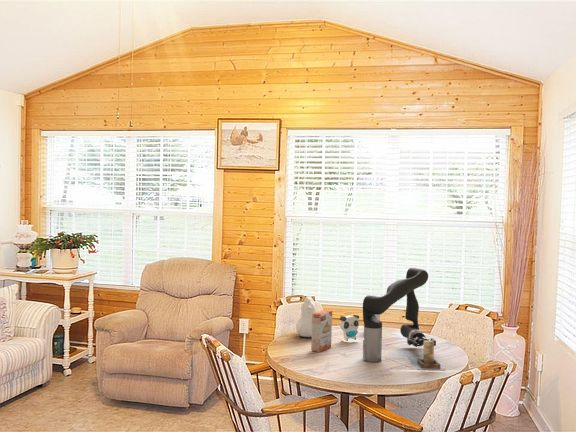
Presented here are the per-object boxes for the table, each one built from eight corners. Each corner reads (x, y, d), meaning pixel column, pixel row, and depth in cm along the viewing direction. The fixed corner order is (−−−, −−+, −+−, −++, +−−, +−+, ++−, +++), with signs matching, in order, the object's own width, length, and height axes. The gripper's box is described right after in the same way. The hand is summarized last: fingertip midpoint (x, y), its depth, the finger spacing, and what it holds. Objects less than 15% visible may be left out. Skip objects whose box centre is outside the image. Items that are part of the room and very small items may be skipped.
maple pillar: (424, 367, 265) (425, 342, 265) (422, 364, 270) (422, 340, 270) (434, 367, 265) (435, 342, 265) (432, 364, 270) (432, 340, 270)
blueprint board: (417, 370, 262) (417, 368, 262) (406, 357, 284) (406, 356, 284) (445, 370, 263) (445, 368, 263) (432, 358, 285) (432, 356, 285)
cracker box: (320, 352, 291) (321, 314, 291) (310, 351, 294) (311, 313, 294) (332, 347, 303) (332, 310, 303) (322, 345, 306) (323, 309, 306)
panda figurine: (346, 344, 311) (347, 318, 311) (335, 339, 321) (336, 314, 321) (363, 341, 317) (363, 316, 317) (351, 337, 327) (352, 313, 327)
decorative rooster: (319, 340, 318) (320, 298, 318) (293, 339, 321) (294, 297, 321) (324, 331, 343) (324, 292, 343) (299, 329, 346) (300, 291, 345)
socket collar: (421, 368, 263) (422, 364, 263) (417, 363, 272) (417, 359, 272) (440, 368, 263) (440, 364, 263) (434, 363, 272) (435, 359, 272)
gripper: (404, 330, 291) (411, 337, 275) (430, 330, 291) (438, 338, 275) (403, 344, 291) (410, 352, 275) (430, 344, 291) (438, 352, 275)
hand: (424, 345), depth 275 cm, fingers open, 8 cm apart
